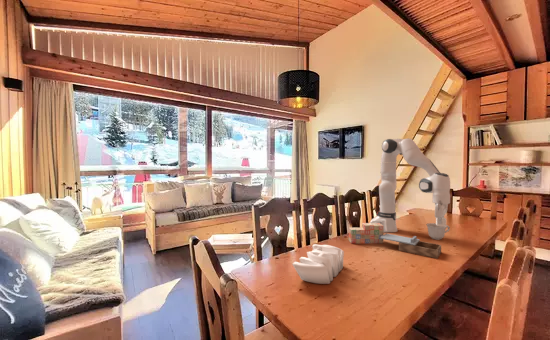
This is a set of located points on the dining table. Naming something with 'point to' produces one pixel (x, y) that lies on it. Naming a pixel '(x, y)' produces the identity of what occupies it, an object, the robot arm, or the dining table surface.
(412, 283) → the dining table surface
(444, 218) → the cube
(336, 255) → the wavy white extrusion
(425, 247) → the box
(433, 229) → the teacup
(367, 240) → the stack of blocks
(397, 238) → the lid
